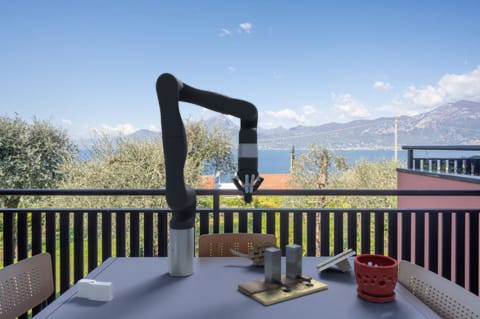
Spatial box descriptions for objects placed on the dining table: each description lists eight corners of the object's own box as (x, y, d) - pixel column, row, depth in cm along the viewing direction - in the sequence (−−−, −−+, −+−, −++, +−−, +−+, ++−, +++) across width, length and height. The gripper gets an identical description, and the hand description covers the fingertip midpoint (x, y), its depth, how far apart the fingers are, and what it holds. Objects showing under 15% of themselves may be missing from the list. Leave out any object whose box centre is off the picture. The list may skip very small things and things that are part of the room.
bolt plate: (266, 305, 104) (266, 301, 104) (252, 297, 110) (252, 294, 110) (327, 288, 118) (327, 285, 118) (313, 282, 124) (313, 279, 124)
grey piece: (335, 290, 127) (367, 263, 126) (319, 271, 129) (350, 244, 128) (331, 282, 143) (359, 258, 142) (316, 265, 145) (344, 241, 144)
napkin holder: (122, 301, 108) (122, 282, 108) (83, 311, 101) (83, 291, 101) (104, 287, 120) (104, 270, 120) (69, 295, 112) (69, 278, 112)
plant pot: (348, 289, 118) (348, 253, 117) (388, 289, 117) (388, 253, 117) (360, 305, 104) (361, 265, 104) (405, 306, 104) (405, 266, 104)
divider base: (260, 302, 107) (260, 261, 107) (237, 289, 117) (238, 251, 117) (321, 285, 121) (321, 249, 121) (296, 275, 131) (296, 241, 131)
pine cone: (282, 263, 146) (282, 239, 146) (280, 270, 137) (280, 245, 137) (230, 260, 150) (230, 237, 150) (225, 267, 141) (225, 242, 141)
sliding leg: (284, 290, 112) (284, 256, 112) (264, 280, 121) (264, 249, 121) (293, 288, 114) (294, 254, 114) (273, 278, 123) (273, 247, 123)
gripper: (259, 156, 137) (259, 201, 137) (227, 156, 132) (227, 202, 132) (268, 156, 130) (268, 203, 130) (235, 156, 125) (235, 205, 125)
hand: (247, 202), depth 131 cm, fingers closed
